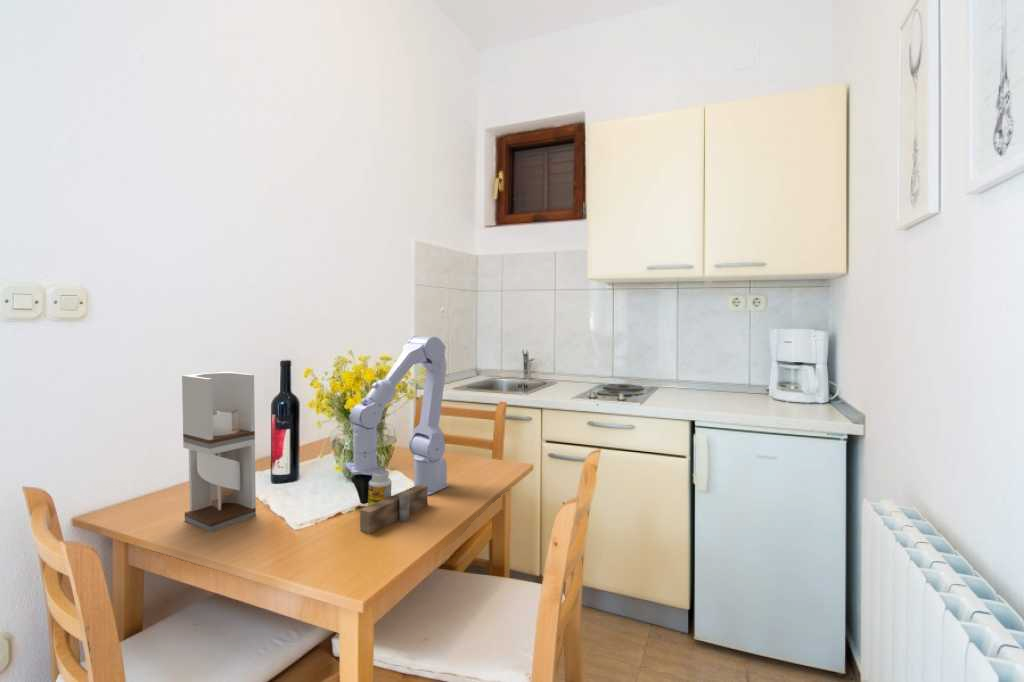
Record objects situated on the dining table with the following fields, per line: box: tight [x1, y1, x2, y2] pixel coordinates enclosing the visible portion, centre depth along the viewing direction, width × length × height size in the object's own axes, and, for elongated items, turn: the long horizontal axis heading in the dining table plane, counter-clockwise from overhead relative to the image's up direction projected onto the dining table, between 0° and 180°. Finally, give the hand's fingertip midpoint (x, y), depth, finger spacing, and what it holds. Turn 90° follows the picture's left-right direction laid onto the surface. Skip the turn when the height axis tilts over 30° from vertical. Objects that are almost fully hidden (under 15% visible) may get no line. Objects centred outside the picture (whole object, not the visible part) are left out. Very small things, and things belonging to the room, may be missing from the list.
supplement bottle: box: [367, 471, 392, 506], centre depth 120 cm, size 6×6×10 cm
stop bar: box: [359, 484, 429, 535], centre depth 117 cm, size 20×5×6 cm, turn 149°
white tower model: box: [181, 371, 257, 533], centre depth 115 cm, size 11×11×35 cm
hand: (365, 502), depth 123 cm, fingers closed
